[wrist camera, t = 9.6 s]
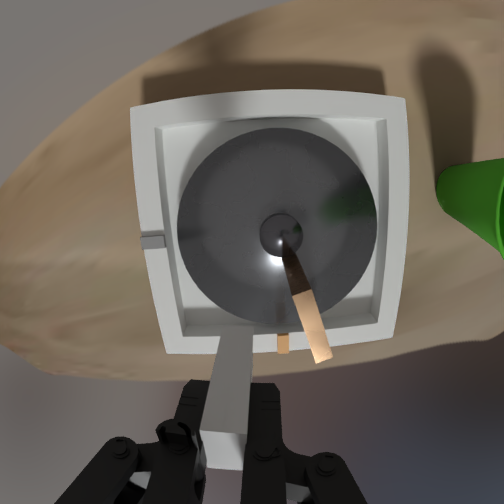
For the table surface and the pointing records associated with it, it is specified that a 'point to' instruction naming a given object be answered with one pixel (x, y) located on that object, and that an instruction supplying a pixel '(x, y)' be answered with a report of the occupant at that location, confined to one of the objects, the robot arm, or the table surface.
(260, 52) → the table surface
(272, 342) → the white square tray
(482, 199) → the cup
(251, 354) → the robot arm
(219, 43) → the table surface
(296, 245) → the dial
